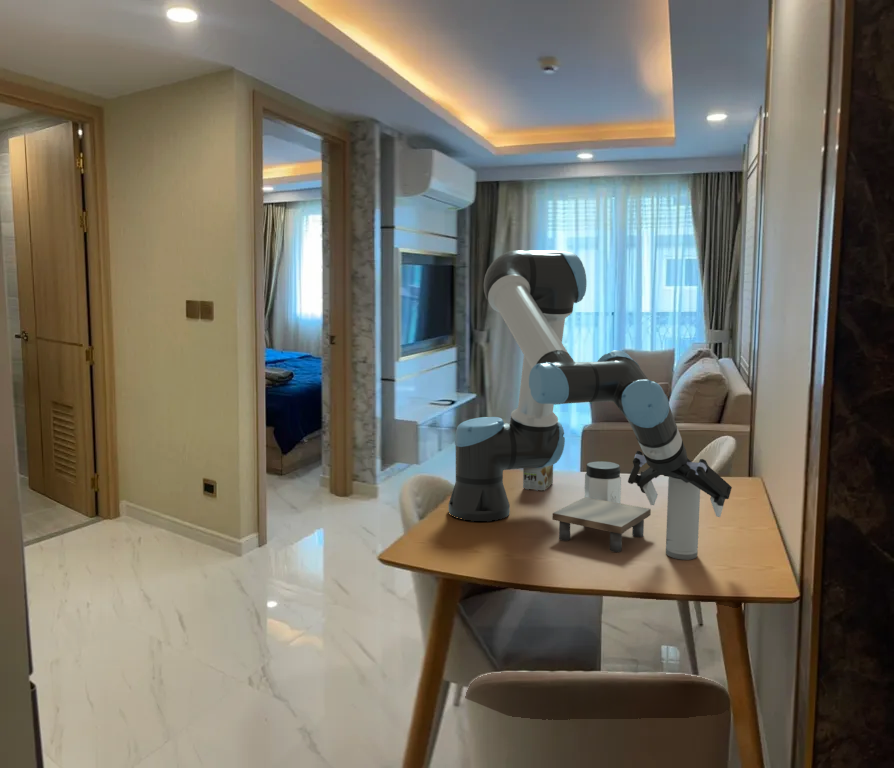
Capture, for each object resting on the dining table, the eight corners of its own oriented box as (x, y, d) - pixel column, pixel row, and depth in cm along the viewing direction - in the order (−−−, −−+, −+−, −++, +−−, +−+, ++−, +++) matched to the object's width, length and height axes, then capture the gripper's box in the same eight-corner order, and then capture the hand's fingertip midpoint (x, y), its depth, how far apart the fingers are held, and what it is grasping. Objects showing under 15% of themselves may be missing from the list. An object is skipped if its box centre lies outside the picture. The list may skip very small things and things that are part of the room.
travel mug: (659, 555, 149) (662, 460, 146) (673, 547, 153) (677, 455, 151) (688, 563, 144) (692, 465, 142) (702, 554, 149) (706, 460, 147)
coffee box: (544, 491, 198) (545, 434, 196) (522, 489, 200) (523, 432, 198) (553, 483, 206) (554, 428, 204) (531, 481, 209) (532, 427, 207)
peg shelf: (552, 539, 159) (552, 513, 158) (584, 521, 171) (585, 497, 170) (620, 554, 149) (621, 526, 148) (649, 534, 162) (650, 508, 161)
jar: (601, 519, 173) (602, 470, 171) (577, 511, 180) (578, 464, 178) (627, 513, 178) (628, 465, 176) (603, 505, 185) (604, 459, 183)
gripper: (594, 453, 140) (623, 510, 154) (725, 471, 125) (745, 532, 139) (606, 422, 144) (634, 480, 158) (735, 436, 129) (753, 499, 143)
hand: (686, 505), depth 148 cm, fingers open, 13 cm apart
